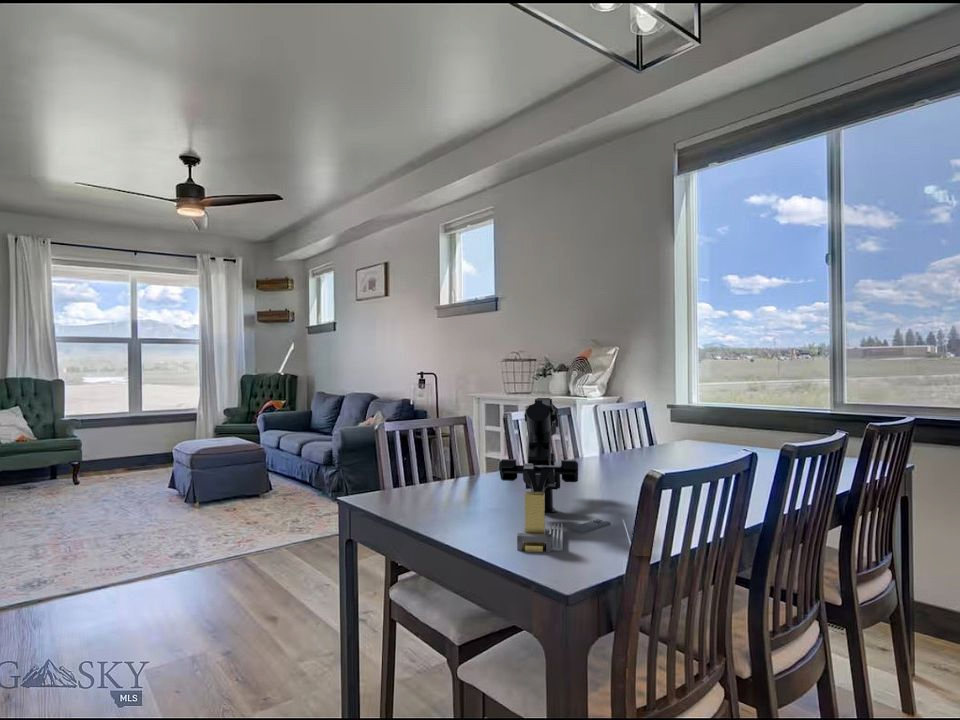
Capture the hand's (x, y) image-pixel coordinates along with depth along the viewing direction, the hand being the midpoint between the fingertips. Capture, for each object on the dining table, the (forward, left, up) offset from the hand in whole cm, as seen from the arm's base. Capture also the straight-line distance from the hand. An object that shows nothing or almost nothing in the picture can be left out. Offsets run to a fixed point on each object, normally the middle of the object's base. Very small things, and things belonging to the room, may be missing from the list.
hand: (537, 501), depth 135 cm
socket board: (+7, -2, -8) cm, 11 cm away
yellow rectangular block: (+11, -3, -7) cm, 13 cm away
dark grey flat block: (-1, +13, -8) cm, 15 cm away
